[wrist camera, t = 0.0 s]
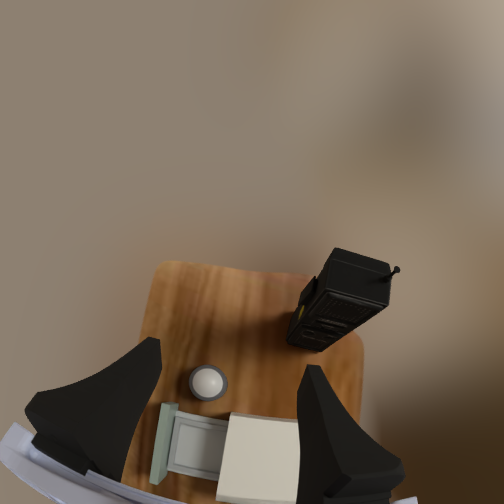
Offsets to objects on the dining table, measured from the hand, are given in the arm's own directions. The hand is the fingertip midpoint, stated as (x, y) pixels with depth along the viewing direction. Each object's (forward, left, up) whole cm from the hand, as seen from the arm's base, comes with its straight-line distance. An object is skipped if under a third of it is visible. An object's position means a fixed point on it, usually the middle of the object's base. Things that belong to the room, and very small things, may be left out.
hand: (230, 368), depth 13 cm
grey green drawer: (-12, +3, -32) cm, 34 cm away
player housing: (-12, -7, -32) cm, 35 cm away
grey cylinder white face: (-1, +4, -32) cm, 33 cm away
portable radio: (+10, -10, -32) cm, 35 cm away
